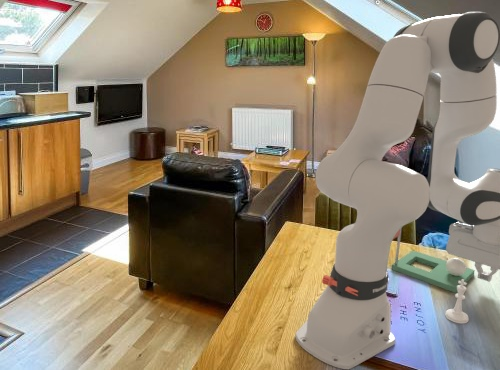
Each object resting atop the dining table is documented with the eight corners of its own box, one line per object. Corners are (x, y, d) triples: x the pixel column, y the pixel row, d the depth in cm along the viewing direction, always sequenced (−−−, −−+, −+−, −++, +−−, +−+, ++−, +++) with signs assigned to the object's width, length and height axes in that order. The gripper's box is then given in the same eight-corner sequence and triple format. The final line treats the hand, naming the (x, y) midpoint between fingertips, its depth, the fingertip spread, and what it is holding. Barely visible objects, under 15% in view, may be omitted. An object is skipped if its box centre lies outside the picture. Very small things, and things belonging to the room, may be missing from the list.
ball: (460, 281, 104) (463, 264, 102) (441, 274, 107) (444, 258, 106) (467, 274, 107) (470, 258, 106) (448, 268, 111) (451, 252, 109)
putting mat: (451, 297, 99) (459, 249, 95) (386, 272, 112) (391, 229, 108) (473, 274, 110) (481, 231, 106) (412, 254, 123) (417, 215, 119)
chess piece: (447, 308, 94) (453, 272, 91) (470, 316, 91) (477, 278, 88) (442, 318, 90) (448, 280, 88) (466, 326, 88) (472, 287, 85)
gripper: (446, 223, 103) (439, 269, 107) (538, 246, 89) (526, 299, 93) (454, 217, 107) (447, 262, 111) (544, 239, 93) (532, 289, 97)
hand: (484, 279), depth 102 cm, fingers closed
